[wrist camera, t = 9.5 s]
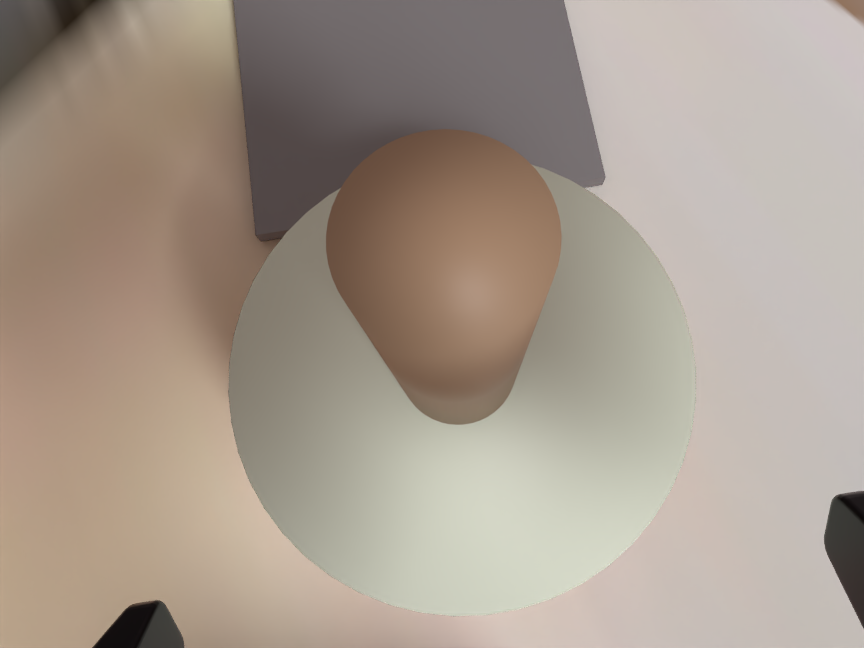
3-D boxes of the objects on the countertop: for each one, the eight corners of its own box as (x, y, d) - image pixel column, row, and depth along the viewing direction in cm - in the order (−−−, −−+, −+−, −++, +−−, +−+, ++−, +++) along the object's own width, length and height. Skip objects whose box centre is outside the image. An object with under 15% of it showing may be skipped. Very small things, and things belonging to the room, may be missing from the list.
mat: (602, 184, 25) (605, 177, 24) (260, 241, 25) (255, 235, 24) (536, -96, 28) (537, -109, 27) (233, -44, 28) (228, -55, 28)
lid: (452, 722, 16) (424, 1052, 7) (151, 367, 19) (-186, 234, 9) (783, 376, 18) (1152, 236, 8) (462, 90, 20) (453, -273, 11)
